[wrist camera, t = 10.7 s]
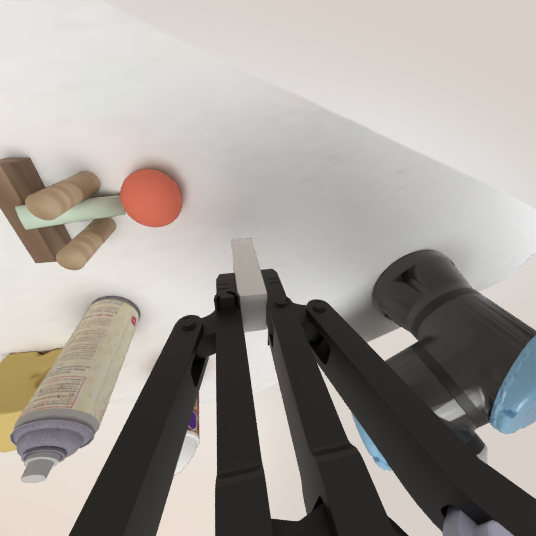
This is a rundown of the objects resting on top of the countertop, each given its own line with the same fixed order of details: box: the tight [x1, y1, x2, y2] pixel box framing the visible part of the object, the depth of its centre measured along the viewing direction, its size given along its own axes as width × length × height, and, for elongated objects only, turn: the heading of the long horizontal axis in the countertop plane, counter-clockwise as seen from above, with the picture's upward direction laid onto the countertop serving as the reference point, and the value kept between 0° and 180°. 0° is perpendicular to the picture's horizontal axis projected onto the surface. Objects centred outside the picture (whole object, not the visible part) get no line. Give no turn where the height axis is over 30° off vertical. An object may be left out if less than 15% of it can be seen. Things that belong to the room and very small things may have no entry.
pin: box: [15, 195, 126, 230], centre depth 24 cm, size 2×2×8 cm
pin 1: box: [25, 172, 101, 220], centre depth 22 cm, size 2×2×8 cm
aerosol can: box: [9, 296, 140, 483], centre depth 28 cm, size 7×7×20 cm
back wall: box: [0, 158, 71, 263], centre depth 25 cm, size 2×10×4 cm, turn 179°
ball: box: [120, 169, 182, 227], centre depth 25 cm, size 6×6×6 cm
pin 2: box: [56, 217, 116, 270], centre depth 25 cm, size 2×2×8 cm
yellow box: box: [0, 348, 63, 452], centre depth 36 cm, size 10×11×10 cm
